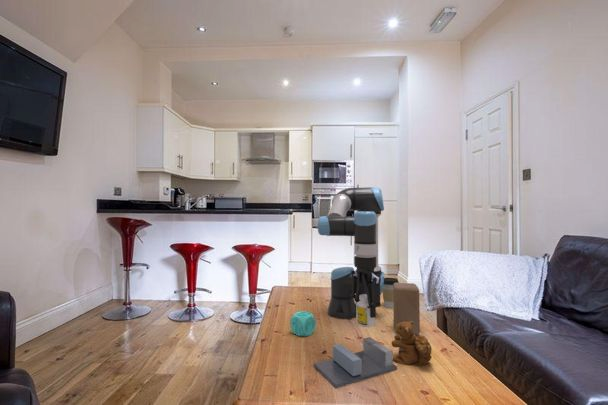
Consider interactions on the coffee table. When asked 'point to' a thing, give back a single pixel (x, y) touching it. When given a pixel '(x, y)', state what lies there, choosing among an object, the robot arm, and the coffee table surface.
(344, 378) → the vise base
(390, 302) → the coffee cup
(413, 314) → the block
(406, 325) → the stuffed squirrel
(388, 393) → the coffee table surface
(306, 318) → the decorative dice
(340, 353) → the sliding jaw
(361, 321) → the supplement bottle
